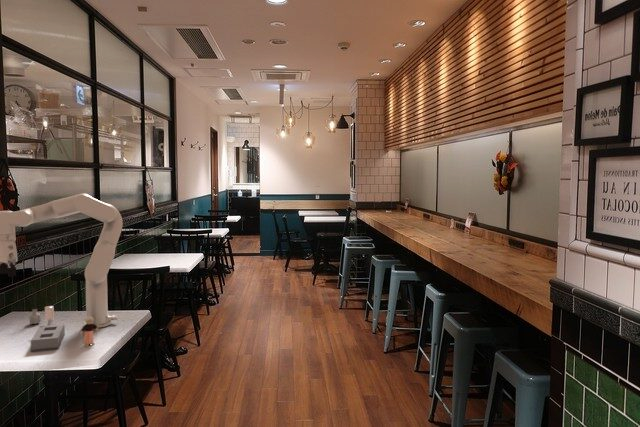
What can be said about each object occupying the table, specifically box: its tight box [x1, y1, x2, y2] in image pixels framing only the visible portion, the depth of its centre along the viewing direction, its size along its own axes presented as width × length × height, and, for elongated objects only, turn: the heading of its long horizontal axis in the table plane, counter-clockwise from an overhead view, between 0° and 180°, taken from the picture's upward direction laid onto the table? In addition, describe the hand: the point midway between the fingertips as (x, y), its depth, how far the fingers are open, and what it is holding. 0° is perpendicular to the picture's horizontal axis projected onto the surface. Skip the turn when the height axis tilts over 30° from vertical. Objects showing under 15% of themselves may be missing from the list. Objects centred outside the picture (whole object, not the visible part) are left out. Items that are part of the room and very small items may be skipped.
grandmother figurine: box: [79, 316, 100, 347], centre depth 213 cm, size 8×4×13 cm, turn 148°
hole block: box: [30, 324, 66, 353], centre depth 215 cm, size 10×20×5 cm, turn 21°
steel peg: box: [44, 305, 55, 326], centre depth 230 cm, size 4×4×12 cm
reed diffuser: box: [23, 283, 42, 325], centre depth 242 cm, size 10×7×20 cm
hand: (8, 274), depth 226 cm, fingers open, 9 cm apart
